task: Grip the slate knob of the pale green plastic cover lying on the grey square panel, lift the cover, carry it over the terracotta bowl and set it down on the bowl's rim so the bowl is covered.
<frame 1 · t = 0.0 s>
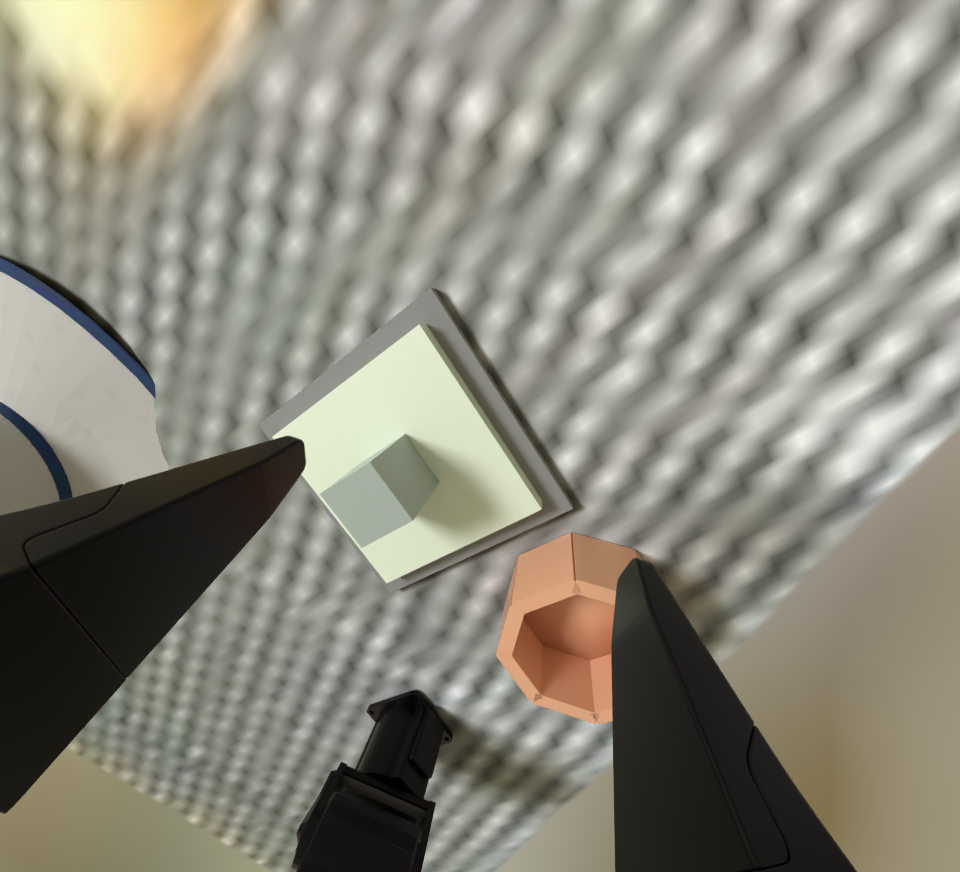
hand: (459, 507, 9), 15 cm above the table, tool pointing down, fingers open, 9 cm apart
sun hat: (47, 454, 36), on the table
cover: (407, 464, 26), point 1 cm above the table, touching grey square panel
grey square panel: (411, 460, 27), on the table
bowl: (581, 599, 28), on the table
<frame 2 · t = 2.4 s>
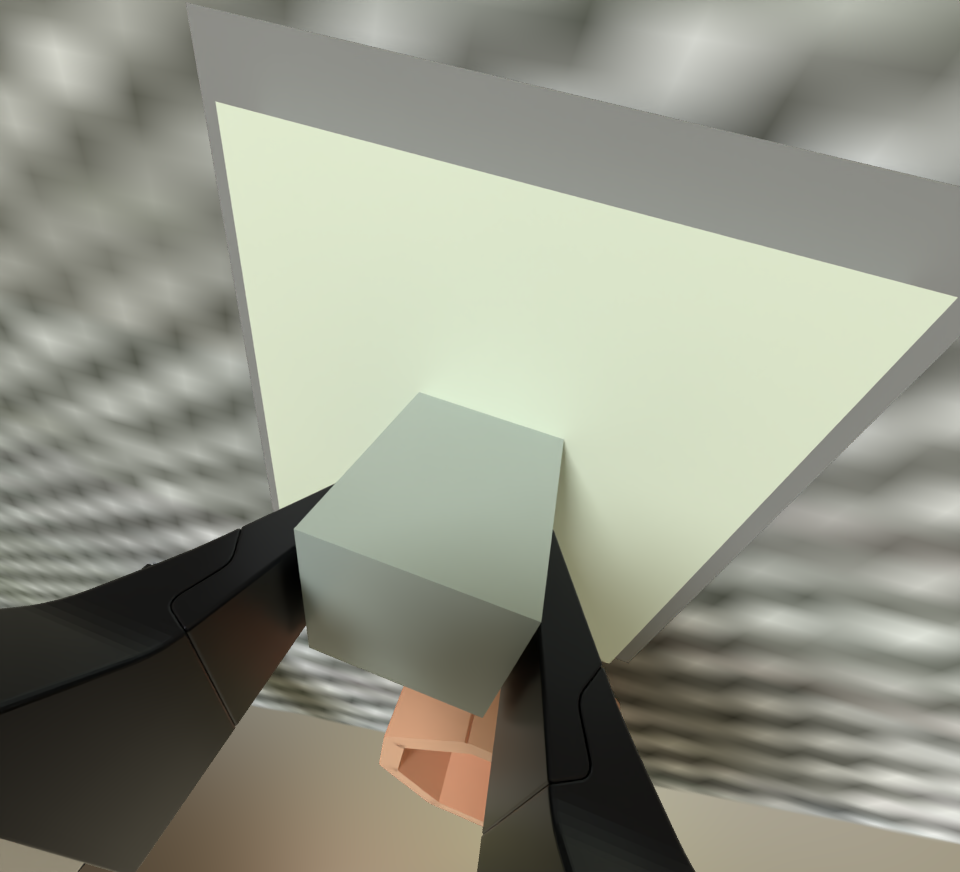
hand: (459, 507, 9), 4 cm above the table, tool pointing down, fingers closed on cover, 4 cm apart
cover: (484, 448, 12), point 1 cm above the table, touching gripper, grey square panel
grey square panel: (490, 435, 12), on the table
bowl: (509, 682, 21), on the table
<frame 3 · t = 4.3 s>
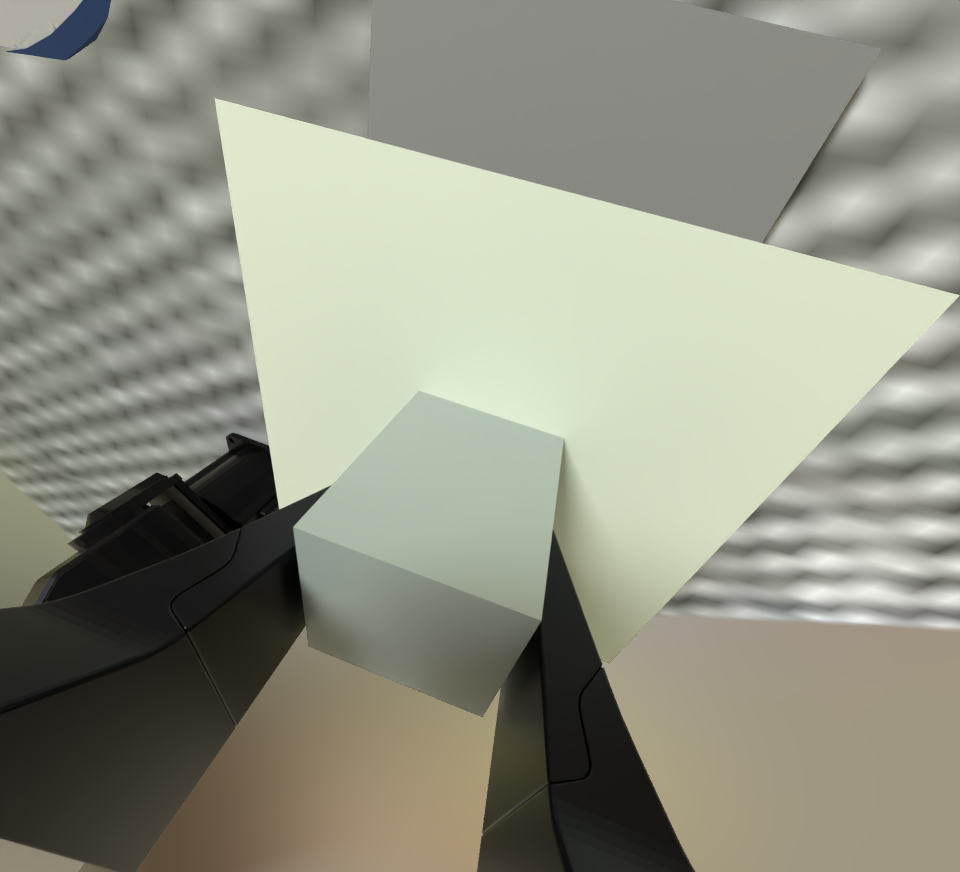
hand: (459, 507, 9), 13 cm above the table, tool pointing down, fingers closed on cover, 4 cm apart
cover: (484, 447, 12), point 10 cm above the table, touching gripper
grey square panel: (535, 259, 18), on the table
when the fingers open (9 cm above the table, at t = 6.7 s): cover drops 2 cm, resting on bowl.
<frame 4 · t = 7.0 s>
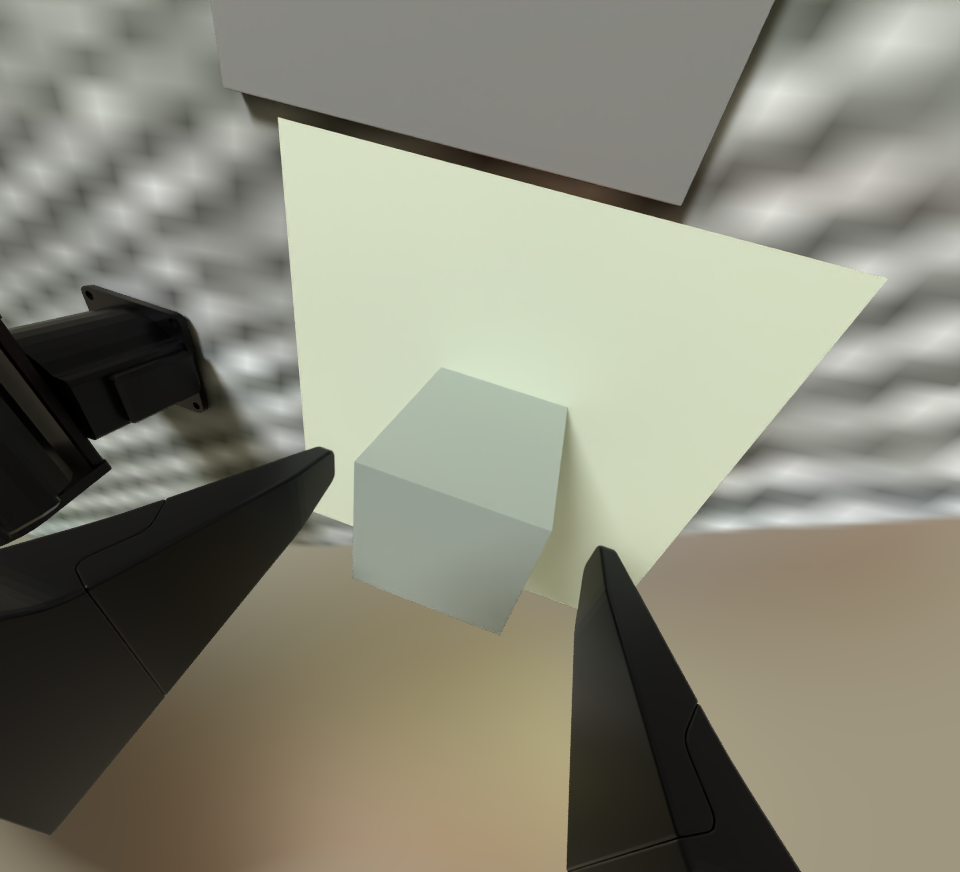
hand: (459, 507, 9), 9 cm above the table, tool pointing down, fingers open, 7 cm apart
cover: (496, 421, 13), point 5 cm above the table, touching bowl
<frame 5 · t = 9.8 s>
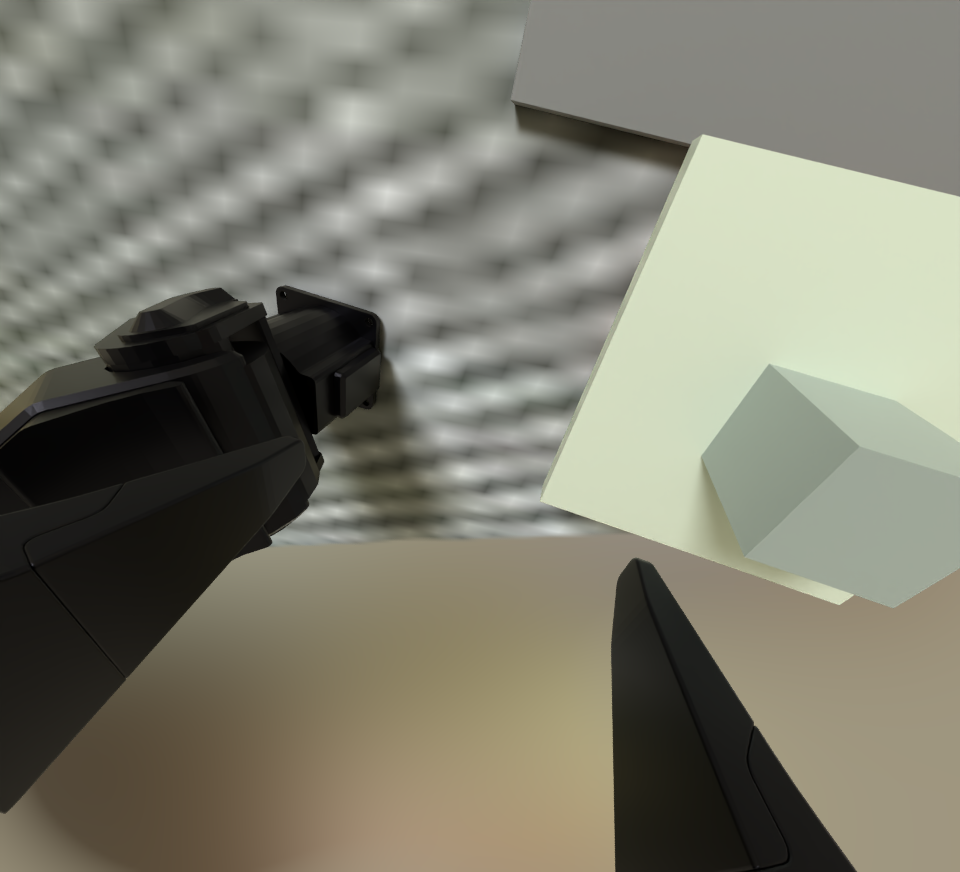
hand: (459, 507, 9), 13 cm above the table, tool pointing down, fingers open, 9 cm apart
cover: (775, 415, 14), point 5 cm above the table, touching bowl
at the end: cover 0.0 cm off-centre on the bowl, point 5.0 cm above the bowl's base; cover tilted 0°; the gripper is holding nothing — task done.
